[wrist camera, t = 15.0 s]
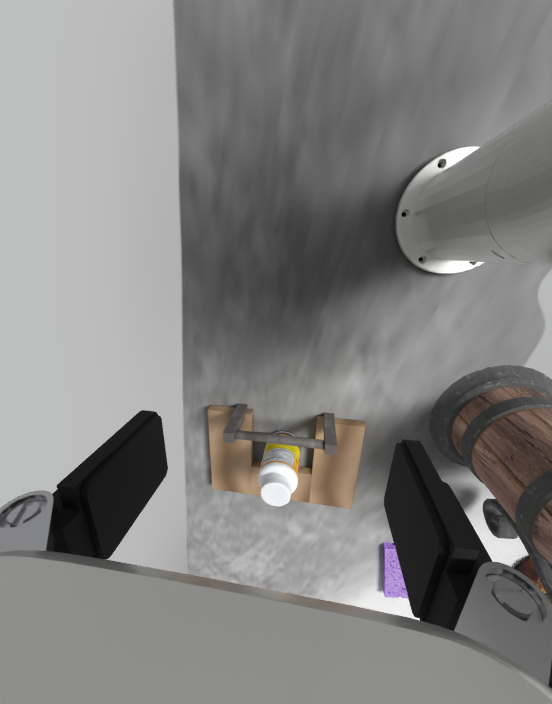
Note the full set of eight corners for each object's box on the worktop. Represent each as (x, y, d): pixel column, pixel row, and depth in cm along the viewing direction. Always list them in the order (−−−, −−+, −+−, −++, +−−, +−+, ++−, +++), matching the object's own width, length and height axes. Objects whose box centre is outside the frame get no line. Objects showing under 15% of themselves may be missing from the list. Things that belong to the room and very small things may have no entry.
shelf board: (364, 416, 41) (374, 450, 34) (350, 501, 47) (356, 544, 40) (210, 400, 44) (190, 428, 37) (215, 482, 50) (198, 519, 43)
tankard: (434, 367, 37) (551, 482, 19) (580, 362, 34) (889, 490, 16) (422, 500, 45) (497, 676, 26) (541, 505, 42) (719, 705, 23)
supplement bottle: (291, 462, 46) (284, 517, 37) (261, 447, 46) (247, 499, 36) (307, 439, 44) (304, 491, 35) (276, 423, 44) (265, 471, 34)
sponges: (382, 586, 54) (384, 597, 52) (382, 539, 50) (384, 549, 48) (421, 589, 52) (424, 600, 51) (424, 541, 48) (428, 552, 47)
